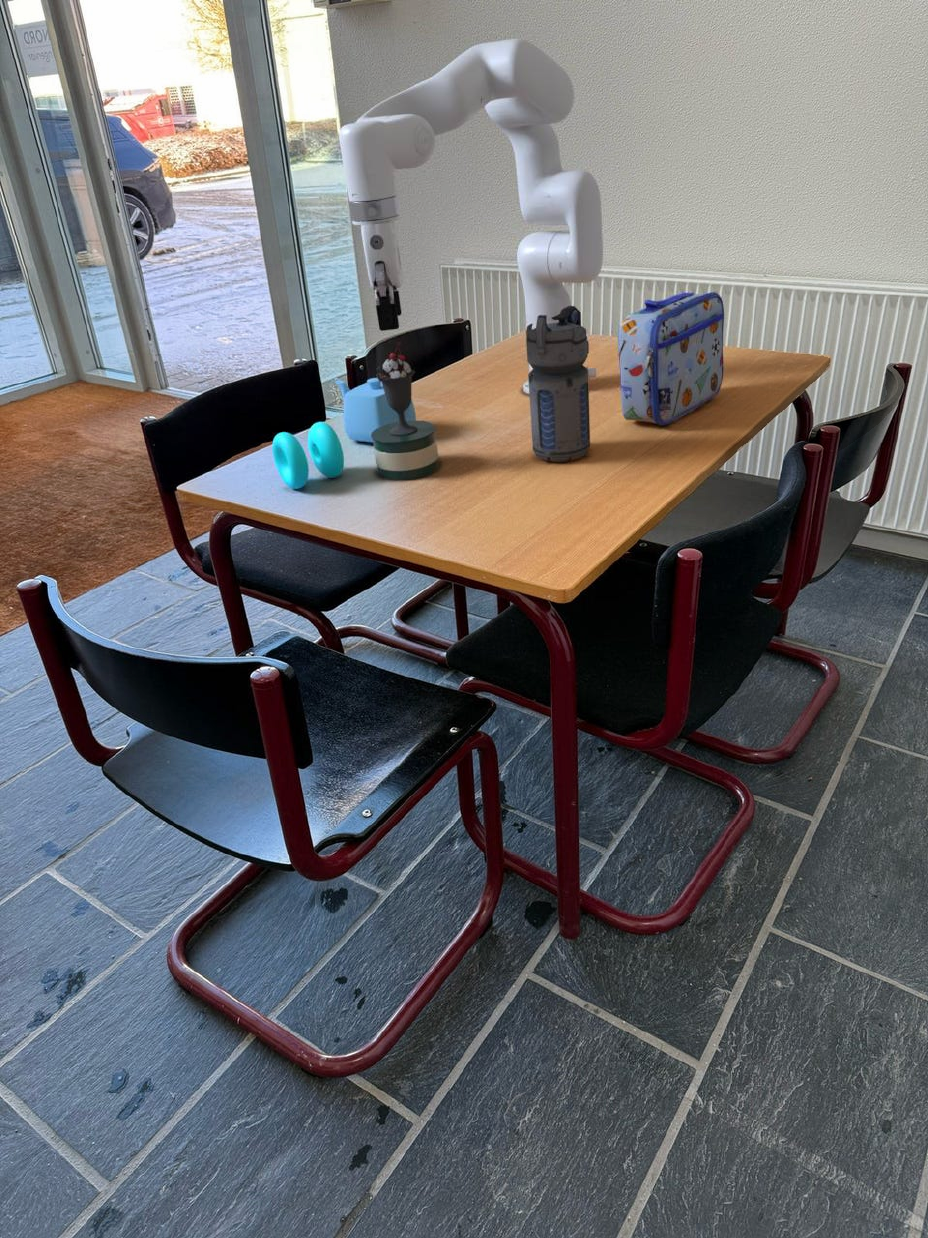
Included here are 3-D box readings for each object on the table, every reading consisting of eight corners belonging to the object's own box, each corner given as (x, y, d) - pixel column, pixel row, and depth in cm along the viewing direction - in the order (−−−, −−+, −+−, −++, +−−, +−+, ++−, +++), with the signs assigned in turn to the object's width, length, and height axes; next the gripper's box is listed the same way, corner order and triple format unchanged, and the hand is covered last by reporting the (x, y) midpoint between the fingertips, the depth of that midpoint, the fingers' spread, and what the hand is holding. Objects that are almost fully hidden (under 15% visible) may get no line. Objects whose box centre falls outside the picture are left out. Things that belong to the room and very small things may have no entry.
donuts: (350, 481, 160) (341, 426, 155) (299, 497, 156) (287, 442, 151) (326, 467, 168) (317, 414, 163) (276, 482, 163) (265, 428, 158)
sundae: (424, 423, 162) (414, 337, 154) (419, 435, 156) (407, 347, 149) (388, 425, 163) (376, 340, 155) (381, 438, 157) (368, 350, 149)
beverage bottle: (606, 443, 164) (603, 300, 151) (572, 469, 155) (566, 318, 142) (556, 437, 169) (549, 298, 157) (520, 462, 160) (510, 316, 147)
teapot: (361, 422, 189) (352, 367, 184) (431, 430, 180) (424, 372, 174) (322, 441, 181) (312, 384, 175) (394, 451, 171) (386, 391, 166)
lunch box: (659, 437, 164) (660, 312, 153) (610, 430, 170) (608, 308, 159) (729, 394, 181) (734, 279, 170) (681, 389, 187) (684, 277, 176)
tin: (440, 454, 168) (435, 417, 164) (439, 476, 158) (435, 438, 154) (378, 460, 168) (373, 423, 164) (374, 483, 158) (368, 445, 155)
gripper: (396, 215, 134) (411, 332, 143) (400, 201, 149) (414, 308, 158) (346, 221, 135) (364, 337, 143) (355, 207, 150) (372, 313, 158)
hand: (391, 322), depth 151 cm, fingers open, 9 cm apart
